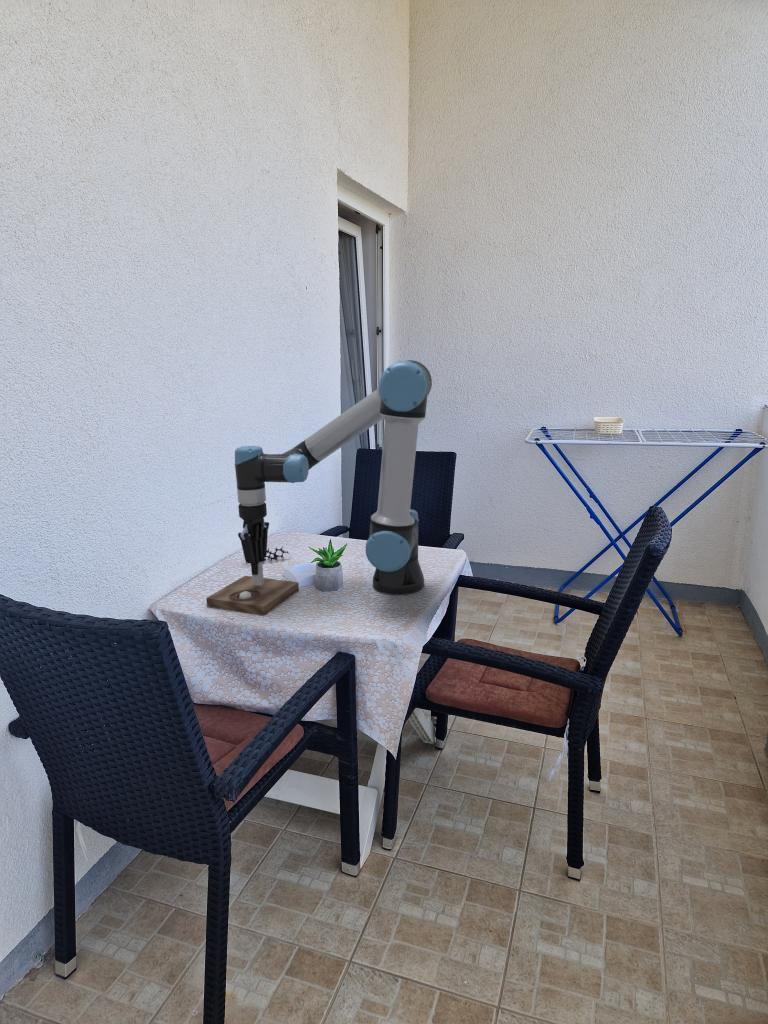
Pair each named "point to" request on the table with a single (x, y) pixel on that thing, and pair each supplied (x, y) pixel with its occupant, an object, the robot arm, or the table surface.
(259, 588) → the wooden board
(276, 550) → the molecular model
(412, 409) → the robot arm
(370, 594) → the table surface
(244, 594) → the ball
